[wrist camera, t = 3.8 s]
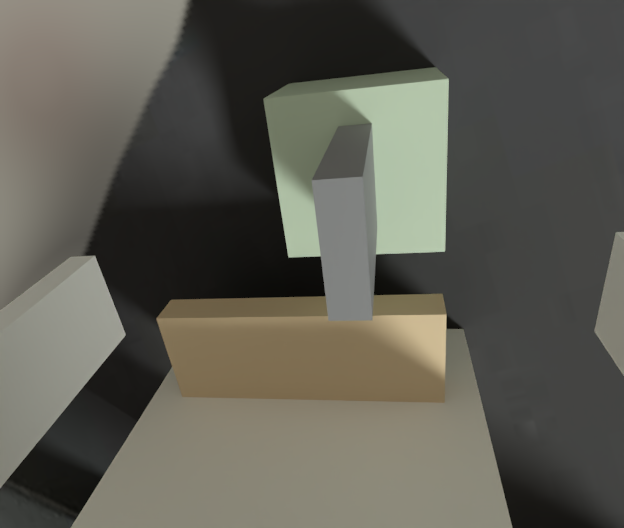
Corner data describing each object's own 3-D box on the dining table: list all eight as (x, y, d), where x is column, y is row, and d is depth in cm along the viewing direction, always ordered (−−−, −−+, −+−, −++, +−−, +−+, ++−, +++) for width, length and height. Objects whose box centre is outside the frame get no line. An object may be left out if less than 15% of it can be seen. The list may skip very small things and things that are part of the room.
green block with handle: (435, 67, 24) (485, 111, 12) (434, 208, 27) (471, 356, 15) (289, 83, 25) (196, 137, 13) (306, 215, 29) (246, 355, 17)
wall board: (466, 251, 28) (543, 472, 14) (461, 378, 33) (514, 637, 19) (174, 262, 32) (10, 446, 18) (207, 375, 37) (97, 589, 23)
